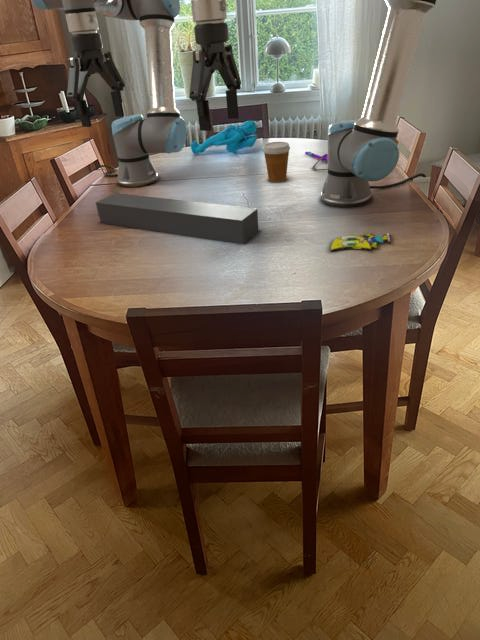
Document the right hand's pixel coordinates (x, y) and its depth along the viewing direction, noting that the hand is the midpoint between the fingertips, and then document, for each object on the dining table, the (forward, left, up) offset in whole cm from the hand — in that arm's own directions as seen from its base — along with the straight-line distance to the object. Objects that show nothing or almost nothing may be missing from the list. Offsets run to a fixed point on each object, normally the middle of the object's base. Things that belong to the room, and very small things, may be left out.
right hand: (220, 124), depth 118 cm
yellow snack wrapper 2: (-16, +32, -29) cm, 46 cm away
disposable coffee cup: (-44, -23, -29) cm, 58 cm away
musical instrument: (-69, -22, -29) cm, 78 cm away
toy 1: (-61, -69, -29) cm, 97 cm away
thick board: (+6, -18, -29) cm, 35 cm away
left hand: (+12, -36, 0) cm, 38 cm away
